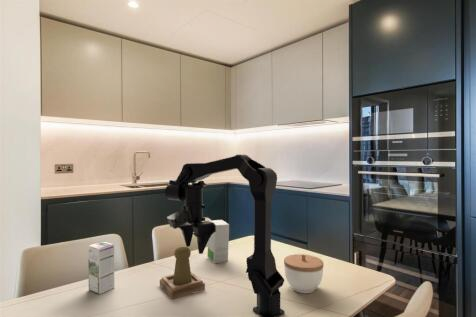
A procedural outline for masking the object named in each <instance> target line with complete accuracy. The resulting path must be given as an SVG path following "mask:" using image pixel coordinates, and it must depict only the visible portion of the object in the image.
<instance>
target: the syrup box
mask: <svg viewBox="0 0 476 317" xmlns="http://www.w3.org/2000/svg"><path fill="white" fill-rule="evenodd" d="M87 249H88V252H87V253H88V258H87V260H88V291H90V292H93V293H95V294H98V295H101V294H103V293H106V292H108V291H110V290H113V289H114V288H115V244H114V243H110V242H106V241H98V242H95V243H93V244H89V245H88V248H87Z"/></svg>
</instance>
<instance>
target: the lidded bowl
mask: <svg viewBox="0 0 476 317" xmlns="http://www.w3.org/2000/svg"><path fill="white" fill-rule="evenodd" d="M283 264H284V266H283V267H284V268H283V269H284V276H285V279H286V281H287V283H288V284H289V286H290V287H291V289H292V290H293V291H295V292H297V293H300V294H311V293H313V292H315V289H317V288H318V287H319V286H320V284H321V282H322V279H323V275H324V261H323V260H322V259H321V258H319V257H317V256H314V255H310V254H305V253H302V254H299V253H297V254H289V255H286V257H284V258H283Z"/></svg>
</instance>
